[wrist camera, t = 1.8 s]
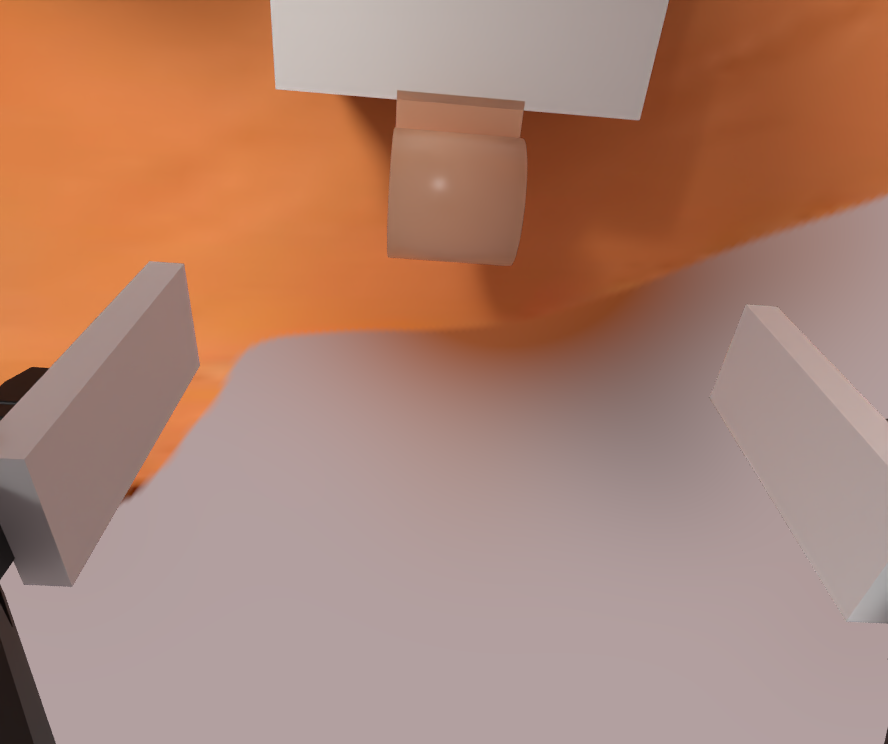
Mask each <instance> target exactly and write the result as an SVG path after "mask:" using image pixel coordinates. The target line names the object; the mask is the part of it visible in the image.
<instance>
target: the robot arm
mask: <svg viewBox="0 0 888 744" xmlns="http://www.w3.org/2000/svg"><path fill="white" fill-rule="evenodd" d="M199 366H200V363H199V356H198V350H197V344H196V337H195V331H194V325H193V318H192V312H191V305H190V299H189V293H188V286H187V280H186V273H185V267H184V264H180V263H166V262H152V261H149V262H148V264H147V265H146V266H145V267H144V268H143V269H142V270H141V271H140V272H139V273H138V274H137V275H136V276H135V277H134V278H133V280H132V281H131V282H130V283H129V284H128V285H127V286H126V287H125V288H124V289H123V290H122V291H121V292H120V293H119V295H118V296H117V297H116V298H115V299H114V300H113V301H112V302H111V303H110V304H109V305H108V306H107V307H106V308H105V310H104V311H103V312H102V313H101V314H100V315H99V316H98V317H97V318H96V319H95V320H94V321H93V322H92V323H91V324H90V326H89V327H88V328H87V329H86V330H85V331H84V332H83V333H82V334H81V335H80V336H79V337H78V338H77V339H76V341H75V342H74V343H73V344H72V345H71V346H70V347H69V348H68V349H67V350H66V351H65V352H64V353H63V354H62V356H61V357H60V358H59V359H58V360H57V361H56V362H55V363H54V364H53V365H52V366H51V367H50V368H39V367H31V368H29V369H27V370H26V371H24V372H22V373H20V374H18V375H16V376H15V377H13V378H11V379H9V380H7V381H5V382H4V383H3V384H2V385H1V386H0V579H1V577H2V576H3V575H4V573H5V572H6V571H7V569H8V568H9V566H10V565H11V563H12V562H13V561H14V563H15V565H16V568H17V570H18V572H19V575H20V577H21V579H22V581H23V584H24V585H45V586H46V585H47V586H68V587H72V586H73V585H74V583H75V581H76V579H77V577H78V576H79V574H80V572H81V571H82V569H83V567H84V565H85V564H86V562H87V560H88V558H89V557H90V555H91V553H92V552H93V550H94V548H95V546H96V545H97V543H98V541H99V539H100V538H101V536H102V534H103V533H104V531H105V529H106V527H107V526H108V524H109V522H110V520H111V518H112V517H113V515H114V513H115V512H116V510H117V508H118V507H119V505H120V503H121V501H122V500H123V498H124V496H125V494H126V493H127V491H128V489H129V487H130V486H131V484H132V482H133V481H134V479H135V477H136V475H137V474H138V472H139V470H140V468H141V467H142V465H143V463H144V461H145V460H146V458H147V456H148V455H149V453H150V451H151V449H152V448H153V446H154V444H155V442H156V441H157V439H158V437H159V435H160V434H161V432H162V430H163V429H164V427H165V425H166V423H167V422H168V420H169V418H170V416H171V415H172V413H173V411H174V409H175V408H176V406H177V404H178V402H179V401H180V399H181V397H182V396H183V394H184V392H185V390H186V389H187V387H188V385H189V383H190V382H191V380H192V378H193V376H194V375H195V373H196V371H197V370H198V368H199ZM709 398H710V400H711V401H712V403H713V405H714V406H715V408H716V409H717V411H718V413H719V414H720V416H721V418H722V419H723V421H724V423H725V424H726V426H727V427H728V429H729V430H730V432H731V434H732V435H733V437H734V439H735V441H736V442H737V444H738V446H739V447H740V449H741V450H742V452H743V454H744V455H745V457H746V459H747V460H748V462H749V463H750V465H751V466H752V468H753V470H754V472H755V473H756V475H757V477H758V478H759V480H760V482H761V483H762V485H763V486H764V488H765V489H766V491H767V493H768V495H769V496H770V498H771V500H772V501H773V503H774V504H775V506H776V507H777V509H778V511H779V513H780V514H781V516H782V518H783V519H784V521H785V522H786V524H787V526H788V527H789V529H790V531H791V532H792V534H793V535H794V537H795V539H796V540H797V542H798V544H799V545H800V547H801V549H802V550H803V552H804V554H805V555H806V557H807V558H808V560H809V562H810V563H811V565H812V567H813V568H814V570H815V572H816V573H817V575H818V576H819V578H820V580H821V581H822V583H823V585H824V586H825V588H826V590H827V591H828V593H829V594H830V596H831V598H832V599H833V601H834V603H835V604H836V606H837V608H838V609H839V611H840V612H841V614H842V616H843V617H844V619H845V621H846V622H848V621H849V622H868V623H888V419H885V418H884V417H883V416H882V415H881V414H880V413H879V412H878V411H877V410H876V409H875V408H874V407H873V406H872V405H871V404H870V403H869V402H868V401H867V400H866V399H865V398H864V396H863V395H861V393H860V392H859V391H858V390H857V389H856V388H855V387H854V386H853V385H852V384H851V383H850V382H849V381H848V380H847V379H846V378H845V377H844V376H843V375H842V374H841V373H840V372H839V370H837V368H836V367H835V366H834V365H833V364H832V363H830V361H829V360H828V359H827V358H826V357H825V356H824V355H823V354H822V353H821V352H820V351H819V350H818V349H817V348H816V347H815V346H814V344H813V343H812V342H811V341H809V339H808V338H807V337H806V336H805V335H804V334H803V333H802V332H801V331H800V330H799V329H798V328H797V327H796V326H795V325H794V324H793V323H792V322H791V320H790V319H789V318H788V317H787V316H786V315H785V314H784V313H783V312H782V311H781V310H780V309H779V308H778V307H777V306H765V305H751V304H750V305H749V304H746V305H745V307H744V310H743V313H742V315H741V318H740V320H739V323H738V326H737V328H736V331H735V333H734V336H733V339H732V341H731V343H730V346H729V349H728V351H727V354H726V356H725V359H724V361H723V364H722V367H721V369H720V372H719V374H718V377H717V379H716V382H715V385H714V387H713V390H712V392H711V395H710V397H709ZM0 744H56V743H55V740H54V737H53V734H52V731H51V728H50V725H49V722H48V720H47V717H46V714H45V711H44V708H43V705H42V702H41V699H40V696H39V693H38V690H37V688H36V684H35V682H34V679H33V676H32V673H31V670H30V667H29V664H28V661H27V658H26V655H25V652H24V650H23V646H22V644H21V641H20V638H19V635H18V632H17V629H16V626H15V623H14V620H13V617H12V615H11V612H10V609H9V606H8V603H7V600H6V597H5V594H4V592H3V590H2V588H1V585H0ZM884 744H888V729H887V734H886V738H885V743H884Z"/></svg>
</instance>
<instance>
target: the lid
mask: <svg viewBox="0 0 888 744" xmlns="http://www.w3.org/2000/svg"><path fill="white" fill-rule="evenodd" d="M668 2H669V0H270V5H271V21H272V37H273V53H274V69H275V85H276V89H280V90H292V91H304V92H315V93H327V94H338V95H350V96H362V97H373V98H385V99H397V106H396V128H394V132H393V141H392V151H391V164H390V180H389V198H388V226H387V253H388V257H390V258H404V259H417V260H431V261H445V262H459V263H473V264H487V265H501V266H511V265H512V264H513V262H514V260H515V257H516V254H517V250H518V246H519V242H520V237H521V231H522V225H523V218H524V210H525V201H526V189H527V148H526V143H525V140H524V139H523V138H520V133H521V126H522V119H523V112H524V110H525V111H536V112H548V113H560V114H571V115H583V116H594V117H606V118H618V119H629V120H640V117H641V113H642V109H643V105H644V101H645V96H646V92H647V88H648V84H649V80H650V76H651V72H652V68H653V64H654V60H655V56H656V51H657V47H658V43H659V39H660V35H661V31H662V27H663V23H664V19H665V15H666V11H667V6H668Z"/></svg>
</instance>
